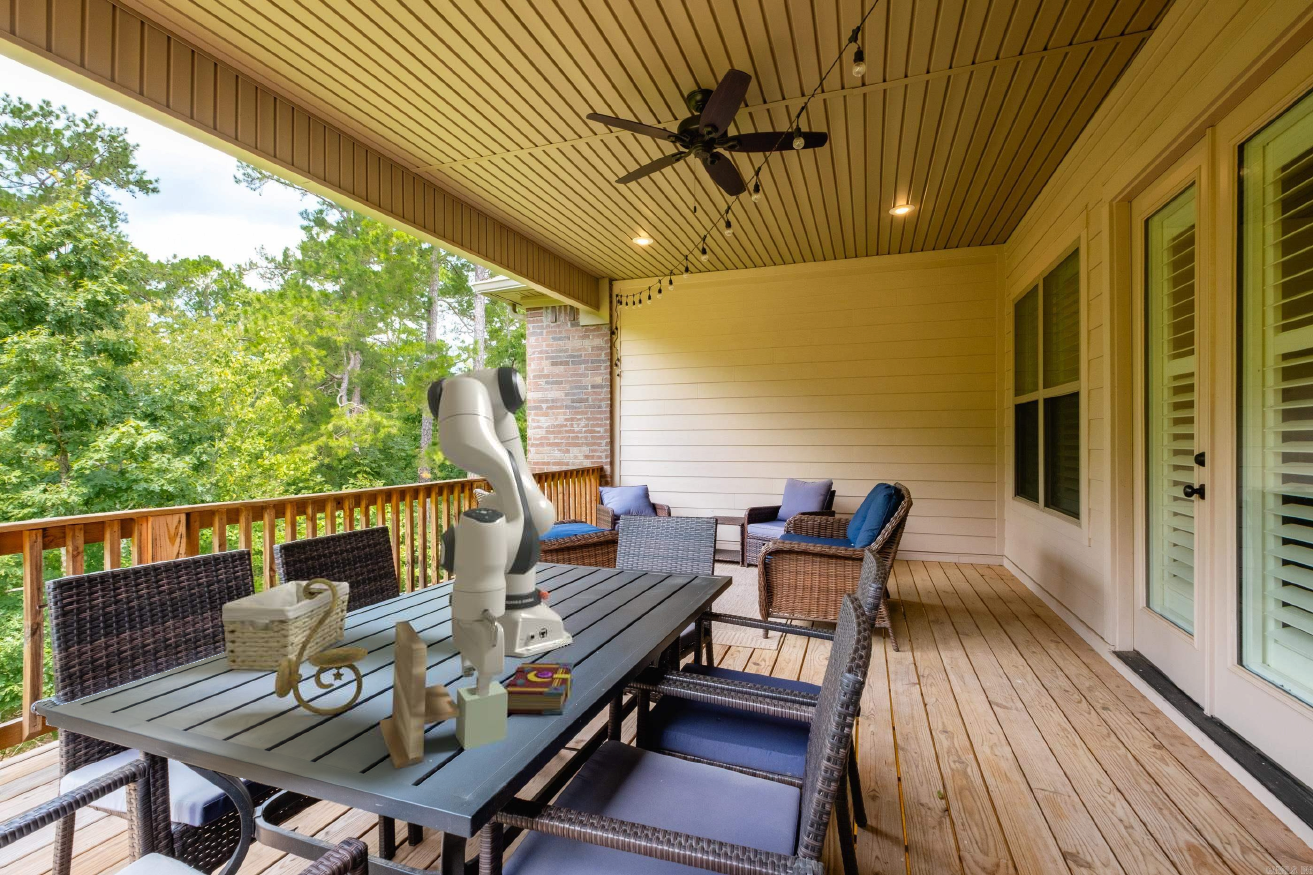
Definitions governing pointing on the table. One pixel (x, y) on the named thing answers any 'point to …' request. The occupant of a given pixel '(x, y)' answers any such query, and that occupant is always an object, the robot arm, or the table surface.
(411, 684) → the wall board
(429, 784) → the table surface
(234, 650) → the storage basket
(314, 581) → the wall sconce
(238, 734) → the table surface
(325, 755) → the table surface
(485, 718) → the sage cabinet
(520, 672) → the decorative book
